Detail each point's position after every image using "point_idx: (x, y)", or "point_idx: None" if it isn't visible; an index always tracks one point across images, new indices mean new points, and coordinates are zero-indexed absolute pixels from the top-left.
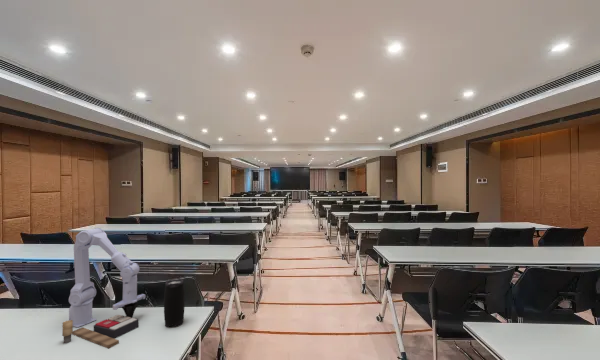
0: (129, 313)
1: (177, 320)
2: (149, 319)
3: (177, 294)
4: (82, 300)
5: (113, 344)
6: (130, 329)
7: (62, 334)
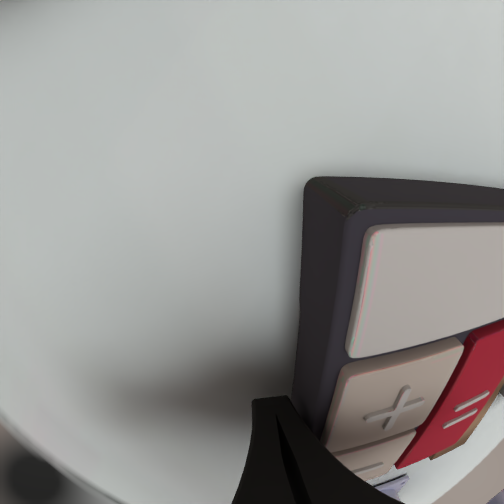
0: (328, 455)
1: None
2: (96, 258)
3: None
4: None
5: None
6: (421, 182)
7: None
